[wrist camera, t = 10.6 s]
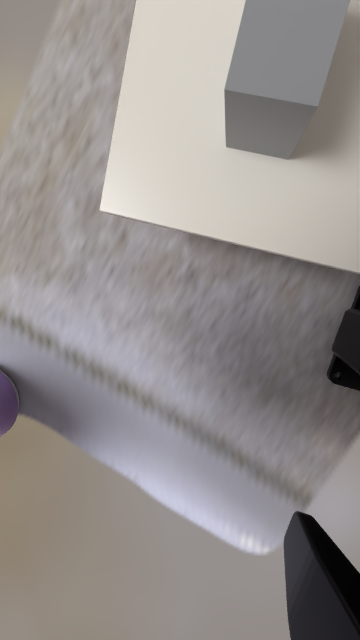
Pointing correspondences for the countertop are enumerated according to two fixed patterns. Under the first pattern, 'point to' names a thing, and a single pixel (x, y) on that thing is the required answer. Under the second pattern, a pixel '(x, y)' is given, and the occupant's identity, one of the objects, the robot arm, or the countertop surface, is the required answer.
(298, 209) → the cover sheet
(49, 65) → the countertop surface
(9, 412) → the beverage can
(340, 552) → the robot arm
